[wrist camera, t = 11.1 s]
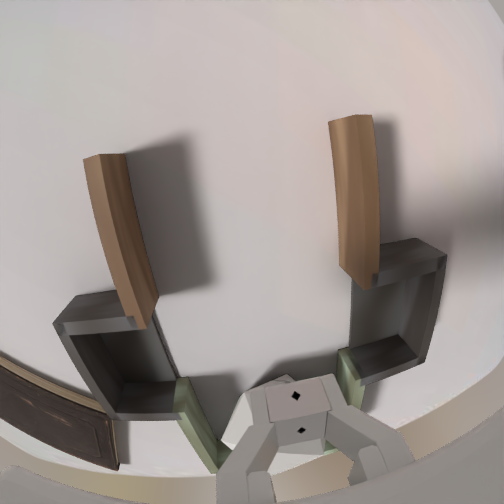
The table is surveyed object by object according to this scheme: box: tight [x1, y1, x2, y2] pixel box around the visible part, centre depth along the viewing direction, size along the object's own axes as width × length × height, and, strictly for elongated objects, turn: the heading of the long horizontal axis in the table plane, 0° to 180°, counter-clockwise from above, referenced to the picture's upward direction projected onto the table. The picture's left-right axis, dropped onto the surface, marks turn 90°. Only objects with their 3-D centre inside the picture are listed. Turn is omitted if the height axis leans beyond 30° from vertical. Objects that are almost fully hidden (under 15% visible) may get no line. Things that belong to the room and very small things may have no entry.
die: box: [221, 374, 326, 476], centre depth 20 cm, size 8×9×10 cm
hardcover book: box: [0, 356, 120, 471], centre depth 22 cm, size 16×23×2 cm
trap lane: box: [52, 115, 447, 474], centre depth 19 cm, size 27×30×4 cm
